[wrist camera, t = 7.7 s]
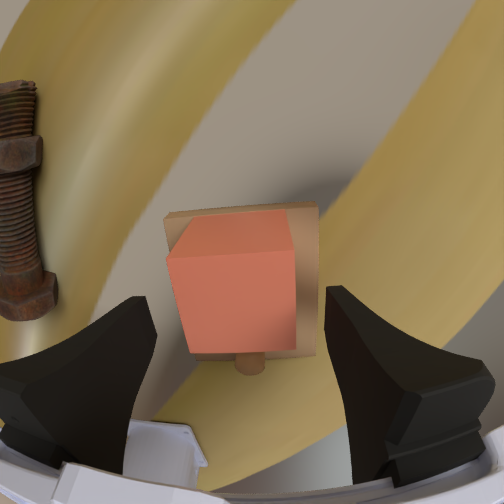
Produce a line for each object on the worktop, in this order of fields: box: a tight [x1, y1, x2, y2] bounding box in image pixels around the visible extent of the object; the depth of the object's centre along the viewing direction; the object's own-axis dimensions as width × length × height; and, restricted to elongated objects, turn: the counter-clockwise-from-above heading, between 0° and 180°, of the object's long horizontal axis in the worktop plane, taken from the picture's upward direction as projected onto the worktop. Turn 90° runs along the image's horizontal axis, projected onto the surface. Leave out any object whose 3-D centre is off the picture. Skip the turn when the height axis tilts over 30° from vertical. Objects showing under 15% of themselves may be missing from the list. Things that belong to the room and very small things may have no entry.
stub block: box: [163, 201, 319, 375], centre depth 16 cm, size 10×8×4 cm
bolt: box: [0, 80, 58, 321], centre depth 14 cm, size 6×5×15 cm
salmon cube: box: [166, 209, 296, 353], centre depth 14 cm, size 5×5×5 cm
